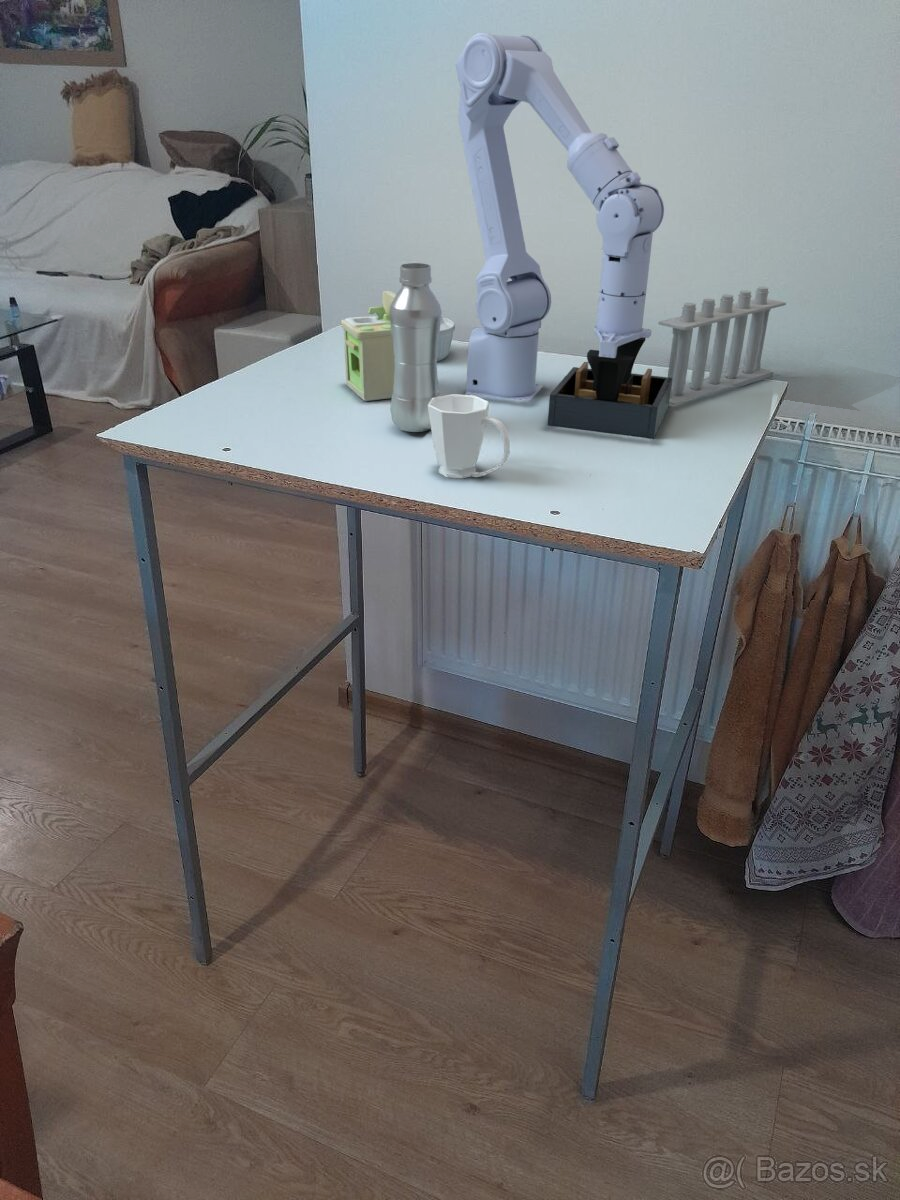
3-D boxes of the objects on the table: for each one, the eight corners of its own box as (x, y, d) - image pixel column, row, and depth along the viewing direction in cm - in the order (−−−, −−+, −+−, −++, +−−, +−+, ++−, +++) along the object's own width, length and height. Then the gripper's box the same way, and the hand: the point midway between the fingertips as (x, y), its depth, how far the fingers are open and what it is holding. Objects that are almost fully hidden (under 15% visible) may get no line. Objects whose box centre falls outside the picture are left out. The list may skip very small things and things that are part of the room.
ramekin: (461, 363, 147) (462, 329, 144) (390, 366, 145) (390, 332, 142) (446, 345, 157) (446, 312, 154) (379, 347, 154) (379, 315, 152)
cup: (448, 455, 112) (449, 389, 108) (521, 474, 108) (525, 405, 104) (414, 474, 107) (414, 405, 103) (490, 494, 102) (493, 422, 98)
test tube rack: (673, 408, 129) (687, 310, 123) (647, 401, 132) (659, 304, 125) (773, 376, 144) (789, 287, 137) (747, 369, 147) (763, 282, 140)
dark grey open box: (547, 429, 121) (549, 394, 119) (570, 399, 132) (573, 366, 130) (653, 443, 117) (657, 407, 115) (668, 410, 128) (672, 377, 126)
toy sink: (341, 385, 136) (337, 292, 130) (389, 380, 139) (388, 288, 132) (360, 402, 129) (357, 305, 123) (410, 397, 132) (409, 301, 125)
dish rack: (572, 416, 124) (576, 371, 121) (580, 406, 128) (584, 361, 125) (640, 425, 121) (646, 378, 118) (646, 414, 125) (652, 368, 122)
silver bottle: (448, 424, 122) (451, 263, 112) (430, 441, 117) (431, 273, 107) (402, 418, 124) (400, 259, 114) (382, 434, 118) (379, 268, 108)
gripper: (646, 306, 109) (633, 419, 116) (663, 284, 121) (650, 387, 128) (586, 301, 111) (577, 412, 118) (609, 279, 123) (599, 381, 130)
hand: (611, 399), depth 123 cm, fingers open, 7 cm apart
